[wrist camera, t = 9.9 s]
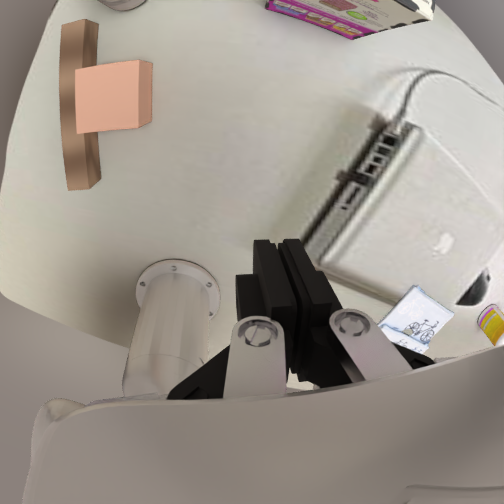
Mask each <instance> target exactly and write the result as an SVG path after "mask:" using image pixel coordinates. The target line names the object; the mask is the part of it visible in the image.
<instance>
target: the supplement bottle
mask: <svg viewBox="0 0 504 504" xmlns="http://www.w3.org/2000/svg"><path fill="white" fill-rule="evenodd" d="M478 325H479V326H480V328H481V329H482V330H483V331H484V333H485V334H486V335H487V337H488V338H489V339H490V341H491V342H492V344H493V345H494V346H498V345H503V344H504V314H503V313H502V312H501V311H500V309H499V308H498V307H497V306H496V305H490V306H489V307H487V308H486V309H485V310H484V311H483V312H482V314H481V315H480V317H479V319H478Z"/></svg>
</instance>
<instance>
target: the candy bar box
mask: <svg viewBox="0 0 504 504" xmlns="http://www.w3.org/2000/svg"><path fill="white" fill-rule="evenodd" d="M435 2H436V0H267V3H266V5H265V9H268V10H272V11H275V12H279V13H282V14H285V15H288V16H292V17H295V18H298V19H301V20H304V21H306V22H309V23H312V24H315V25H317V26H320V27H323V28H325V29H328V30H330V31H333V32H335V33H338V34H340V35H342V36H344V37H347V38H349V39H351V40H354V39H357V38H360V37H364V36H367V35H371V34H374V33H378V32H381V31H385V30H390V29H393V28H398V27H402V26H406V25H411V24H416V23H420V22H425V21H432V18H433V13H434V9H435Z"/></svg>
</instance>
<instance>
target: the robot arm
mask: <svg viewBox="0 0 504 504" xmlns="http://www.w3.org/2000/svg"><path fill="white" fill-rule="evenodd" d="M136 300H137V303H138V305H139V307H140V313H139V316H138V320H137V323H136V327H135V331H134V335H133V338H132V342H131V346H130V350H129V354H128V358H127V363H126V367H125V371H124V375H123V382H122V386H123V394H124V397H120V398H112V399H103V400H96V401H93V402H90V403H89V404H87V405H84V404H81V403H78V402H75V401H71V400H67V399H62V398H55V399H51V400H49V401H47V402H46V403H45V404H44V405H43V406H42V407H41V408H40V410H39V412H38V414H37V417H36V419H35V424H34V428H33V433H32V443H31V466H30V470H29V473H28V477H27V481H26V485H25V490H24V494H23V499H22V504H504V344H503V345H498V346H493V347H490V348H486V349H483V350H479V351H476V352H473V353H470V354H467V355H463V356H460V357H448V358H435V359H434V361H433V360H432V359H431V358H429V357H427V356H425V355H423V354H420V353H418V352H415V351H413V350H411V349H408V348H406V347H403V346H401V345H399V344H396V343H394V342H391V341H390V340H389V339H388V338H387V336H386V335H385V334H384V333H383V331H382V330H381V329H380V328H379V327H378V325H377V324H376V323H375V322H374V321H373V319H372V318H371V317H370V316H368V315H367V314H366V313H364V312H362V311H359V310H356V309H343V308H342V306H341V304H340V302H339V300H338V298H337V296H336V294H335V293H334V291H333V289H332V287H331V285H330V283H329V282H328V280H327V278H326V276H325V274H324V273H323V272H322V271H316V270H315V268H314V266H313V264H312V262H311V260H310V259H309V257H308V255H307V253H306V251H305V249H304V247H303V245H302V244H301V242H300V240H299V239H284V240H283V243H279V244H278V250H277V248H276V245H275V243H270V241H269V240H254V246H253V274H243V275H236V308H237V319H238V322H237V323H236V325H235V326H234V328H233V330H232V336H231V343H230V345H229V346H227V347H226V348H225V349H224V350H222V351H221V352H220V353H218V354H217V355H216V356H215V357H213V358H212V359H211V360H209V361H208V335H209V321H210V320H211V319H212V318H213V317H214V316H215V314H216V313H217V311H218V308H219V306H220V291H219V287H218V285H217V283H216V281H215V279H214V278H213V277H212V276H211V275H210V274H209V273H208V272H207V271H206V270H205V269H203V268H201V267H200V266H198V265H196V264H193V263H191V262H187V261H183V260H165V261H161V262H158V263H155V264H153V265H151V266H149V267H148V268H147V269H146V270H145V271H144V272H143V273H142V274H141V276H140V278H139V280H138V282H137V286H136ZM289 368H290V370H291V373H292V374H295V373H297V377H298V380H299V382H304V381H309V382H311V383H313V384H314V386H313V389H314V390H308V391H301V392H293V393H287V391H286V390H287V389H286V383H287V381H288V374H289Z"/></svg>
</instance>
